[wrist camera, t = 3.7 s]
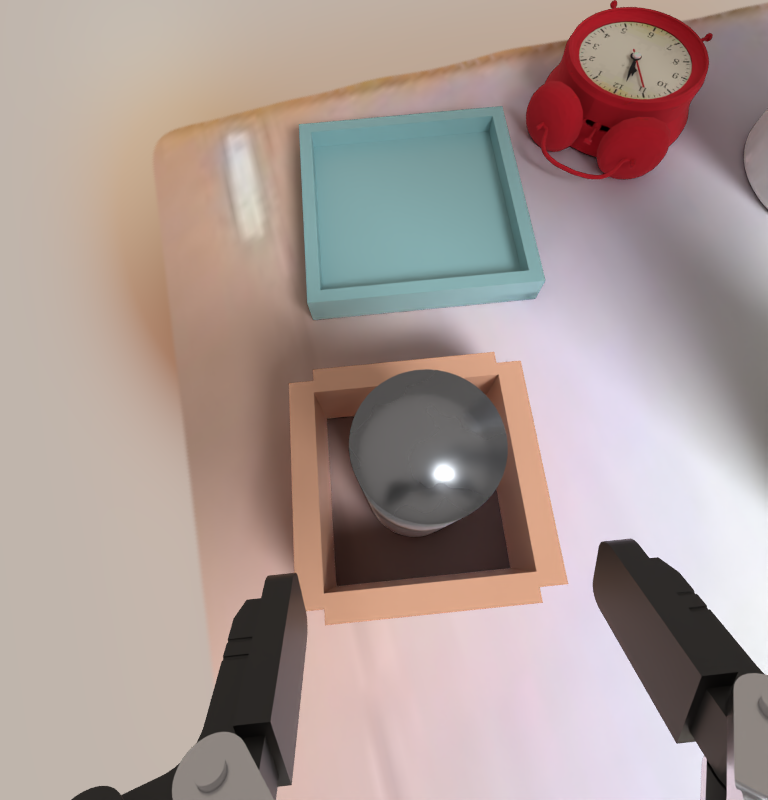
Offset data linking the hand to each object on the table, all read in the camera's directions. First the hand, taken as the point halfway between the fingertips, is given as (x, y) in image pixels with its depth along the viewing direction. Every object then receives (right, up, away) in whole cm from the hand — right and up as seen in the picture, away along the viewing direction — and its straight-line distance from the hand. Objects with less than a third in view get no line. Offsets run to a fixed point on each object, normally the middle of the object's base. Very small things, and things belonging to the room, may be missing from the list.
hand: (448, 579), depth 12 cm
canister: (0, 0, +13) cm, 13 cm away
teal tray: (0, +17, +18) cm, 25 cm away
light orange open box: (0, 0, +13) cm, 13 cm away
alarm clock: (+14, +25, +21) cm, 36 cm away
